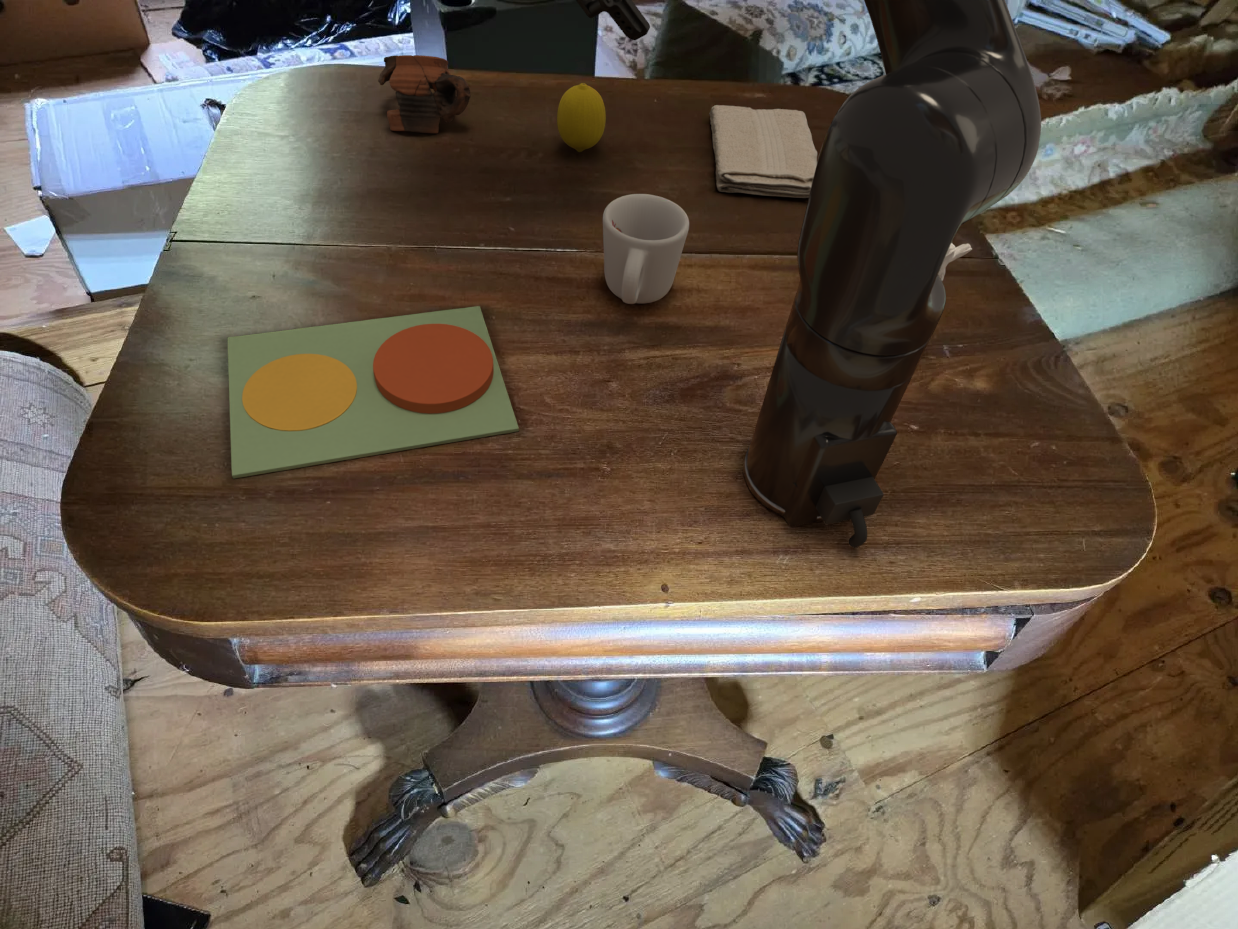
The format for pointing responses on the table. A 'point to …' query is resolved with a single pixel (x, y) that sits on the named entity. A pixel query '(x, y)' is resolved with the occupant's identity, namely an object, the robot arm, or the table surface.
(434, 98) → the pottery mug
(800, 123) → the washcloth
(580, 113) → the lemon
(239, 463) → the placemat
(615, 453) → the table surface
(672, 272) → the cup
